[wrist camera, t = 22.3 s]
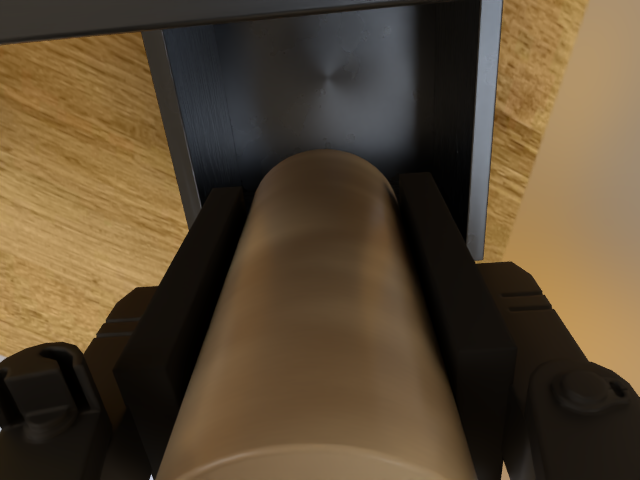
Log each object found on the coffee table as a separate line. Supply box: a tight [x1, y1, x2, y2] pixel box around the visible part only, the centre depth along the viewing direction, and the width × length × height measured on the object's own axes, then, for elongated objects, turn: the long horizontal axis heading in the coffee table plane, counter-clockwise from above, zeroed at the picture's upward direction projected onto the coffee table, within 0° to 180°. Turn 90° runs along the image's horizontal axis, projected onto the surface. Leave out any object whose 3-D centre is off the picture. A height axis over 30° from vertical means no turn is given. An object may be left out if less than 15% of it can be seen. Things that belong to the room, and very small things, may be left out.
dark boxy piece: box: [141, 0, 503, 261], centre depth 23 cm, size 14×13×9 cm
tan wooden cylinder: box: [155, 149, 478, 480], centre depth 9 cm, size 4×4×9 cm
